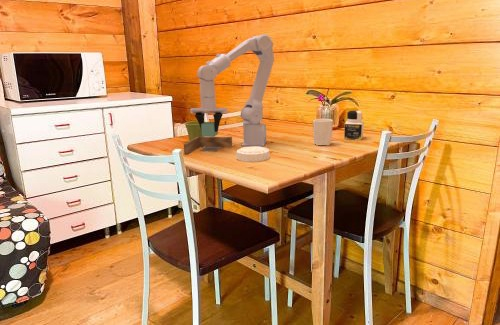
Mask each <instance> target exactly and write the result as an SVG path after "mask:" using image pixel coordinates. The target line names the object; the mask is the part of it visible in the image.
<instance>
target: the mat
mask: <svg viewBox="0 0 500 325" xmlns="http://www.w3.org/2000/svg"><path fill="white" fill-rule="evenodd" d="M221 148H223V147H203V148H202V149H200V150H199V152H217V151H219V150H221Z"/></svg>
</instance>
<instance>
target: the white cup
mask: <svg viewBox="0 0 500 325" xmlns="http://www.w3.org/2000/svg"><path fill="white" fill-rule="evenodd" d="M333 122H334V120H333V119H332V118H315V119H313V120H312V128H313V131H312V132H313V144H314V145H315V144H316V145H315V146H318V145H327V146H331V145H330V144H332V136H333V125H334V123H333Z"/></svg>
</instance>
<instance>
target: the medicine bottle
mask: <svg viewBox="0 0 500 325" xmlns="http://www.w3.org/2000/svg"><path fill="white" fill-rule="evenodd" d="M346 113H347V115H346V116H347V117H346V118H347V119H346V122H345V123H344V136H343V137H344V138H343V139H344V140H346V139H355V140H354V141H362V139H363V137H364V126H365V125H364V121H363V120H362V118H363V112H362V111H361V110H349V111H347V112H346Z"/></svg>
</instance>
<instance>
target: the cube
mask: <svg viewBox="0 0 500 325" xmlns="http://www.w3.org/2000/svg"><path fill="white" fill-rule="evenodd" d="M201 129H202V137H217V135H219V130H218V131H217V132H215V123H214V121H204V123H202V124H201Z"/></svg>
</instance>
